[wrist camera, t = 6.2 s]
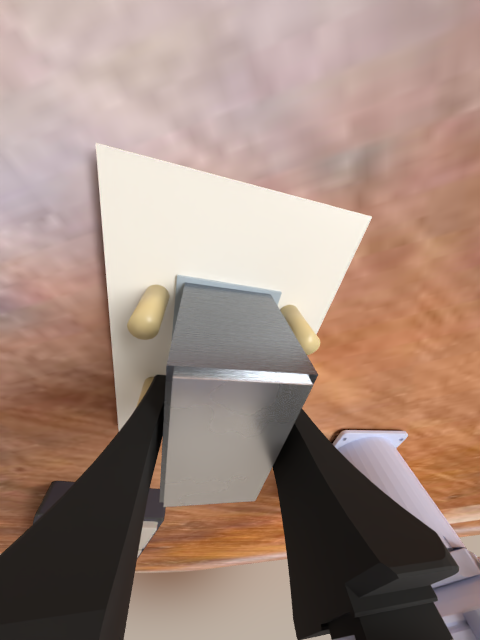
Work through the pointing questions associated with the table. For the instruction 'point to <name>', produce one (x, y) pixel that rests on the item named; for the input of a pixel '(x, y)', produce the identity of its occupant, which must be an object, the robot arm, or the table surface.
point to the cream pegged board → (208, 255)
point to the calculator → (151, 517)
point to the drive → (228, 395)
